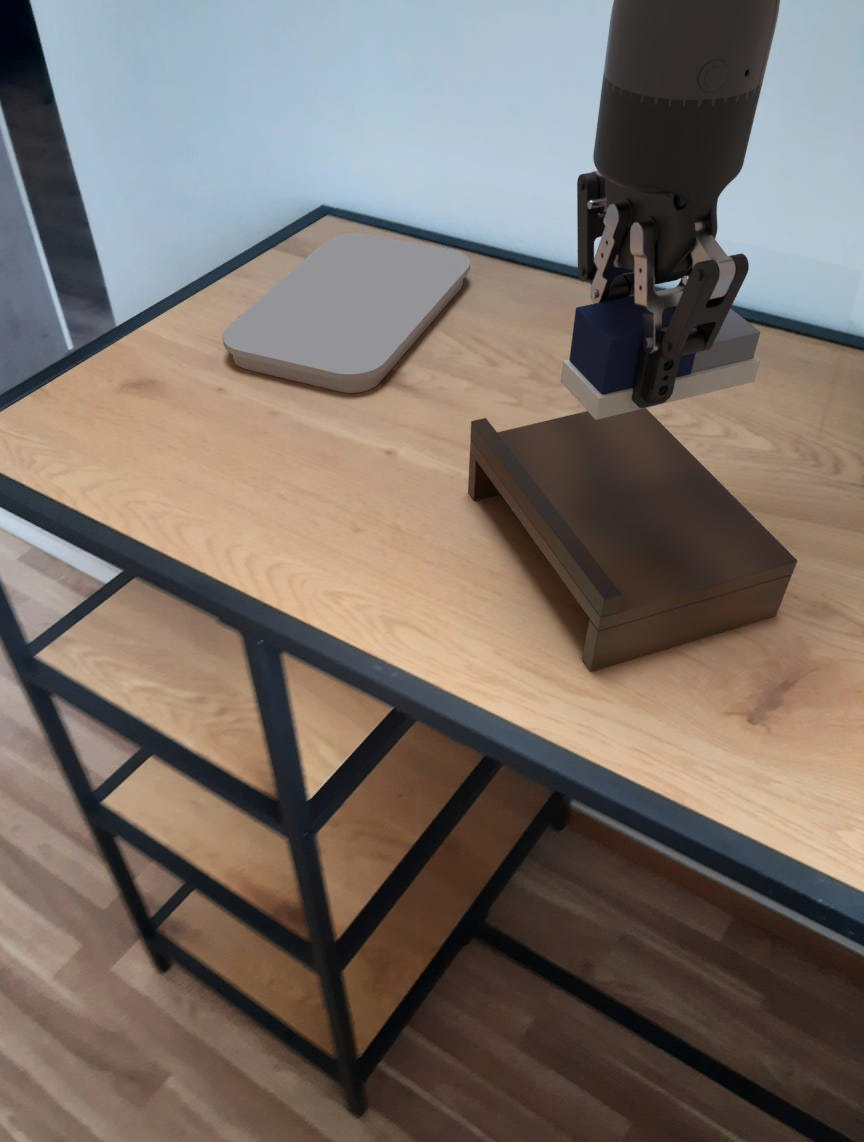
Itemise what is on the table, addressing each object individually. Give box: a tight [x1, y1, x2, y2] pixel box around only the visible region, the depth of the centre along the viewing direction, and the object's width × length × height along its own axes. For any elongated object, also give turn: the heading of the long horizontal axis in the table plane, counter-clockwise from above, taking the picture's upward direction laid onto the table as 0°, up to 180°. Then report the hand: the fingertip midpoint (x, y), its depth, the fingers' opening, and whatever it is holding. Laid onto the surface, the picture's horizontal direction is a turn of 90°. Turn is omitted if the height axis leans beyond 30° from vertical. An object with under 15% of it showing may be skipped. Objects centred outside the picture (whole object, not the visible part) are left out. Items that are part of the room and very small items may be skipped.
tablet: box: [221, 232, 471, 394], centre depth 92 cm, size 16×26×2 cm, turn 155°
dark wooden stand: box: [467, 408, 798, 672], centre depth 66 cm, size 14×20×6 cm
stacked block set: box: [560, 288, 761, 420], centre depth 57 cm, size 11×5×5 cm, turn 110°
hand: (627, 379), depth 57 cm, fingers closed on stacked block set, 4 cm apart
